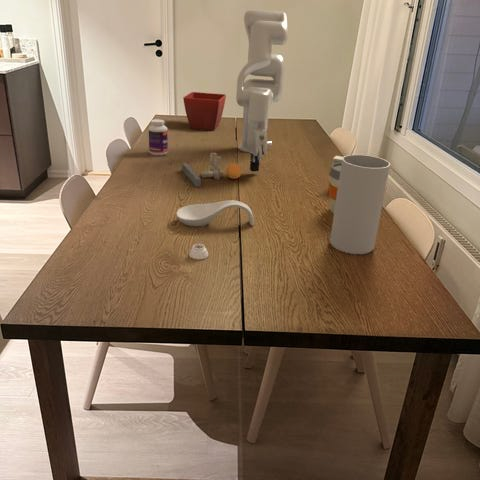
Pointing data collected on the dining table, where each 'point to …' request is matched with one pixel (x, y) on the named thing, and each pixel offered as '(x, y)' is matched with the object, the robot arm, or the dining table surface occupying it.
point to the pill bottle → (158, 138)
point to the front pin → (210, 174)
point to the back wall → (191, 175)
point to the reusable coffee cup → (334, 184)
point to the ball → (234, 171)
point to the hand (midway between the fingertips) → (254, 170)
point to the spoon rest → (209, 212)
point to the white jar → (198, 252)
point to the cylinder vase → (359, 203)
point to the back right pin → (212, 161)
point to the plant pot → (204, 110)
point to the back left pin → (217, 167)
